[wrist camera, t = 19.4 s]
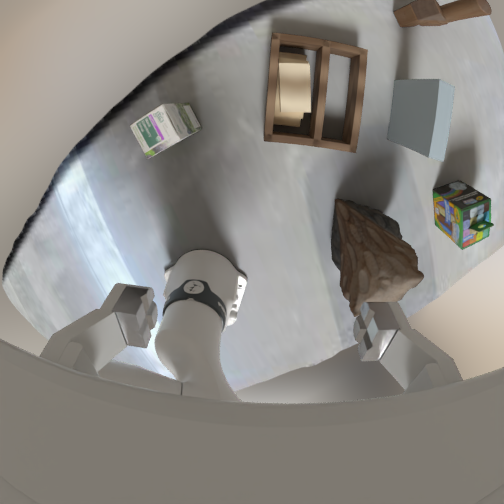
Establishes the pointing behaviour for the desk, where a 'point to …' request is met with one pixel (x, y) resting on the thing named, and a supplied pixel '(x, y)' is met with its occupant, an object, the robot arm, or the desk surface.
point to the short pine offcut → (294, 87)
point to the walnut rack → (319, 92)
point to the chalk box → (462, 213)
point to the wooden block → (440, 12)
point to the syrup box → (165, 127)
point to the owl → (371, 256)
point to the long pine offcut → (282, 119)
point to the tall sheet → (422, 115)
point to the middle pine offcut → (277, 101)
